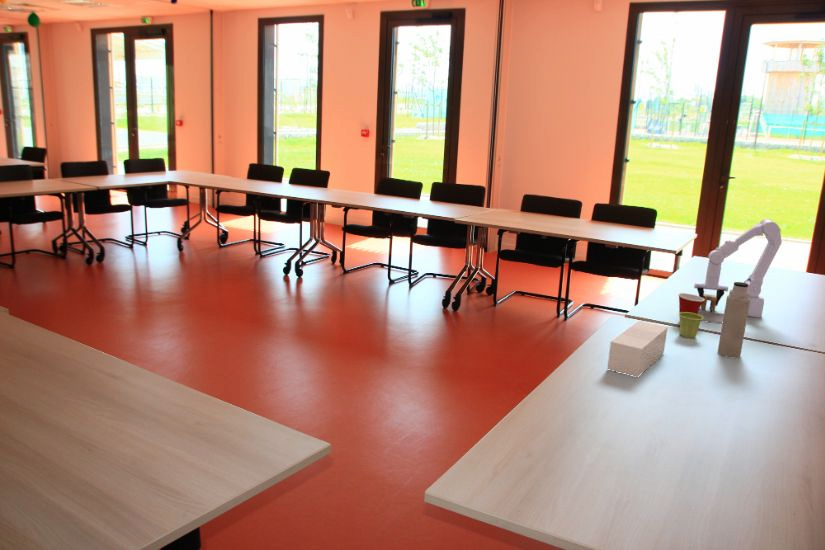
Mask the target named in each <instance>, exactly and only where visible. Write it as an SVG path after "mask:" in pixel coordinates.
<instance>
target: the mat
mask: <svg viewBox="0 0 825 550" xmlns="http://www.w3.org/2000/svg"><path fill="white" fill-rule="evenodd" d="M698 315H701V316H702V317H703V319H702V321H708V322H707V323H711V322H718V323H717V324H720V323H722V322H723V317H724V312H722V313H721V312H713V311H704V310H699V312H698ZM702 321H701V322H702Z"/></svg>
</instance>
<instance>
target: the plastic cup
mask: <svg viewBox="0 0 825 550" xmlns="http://www.w3.org/2000/svg"><path fill="white" fill-rule="evenodd" d="M677 295H678V302H679V304H678V306H679V307H678V308H679V313H681V312H690V313H695V314H698V312H699V311H700V308H701V304H702V302H703V301H704V300H705V299H704V298H702V297H699V295H696V294H692V293H686V292H685V293H684V292H683V293H682V292H679V293H678V294H677ZM679 313H678V314H679Z"/></svg>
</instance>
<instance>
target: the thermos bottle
mask: <svg viewBox="0 0 825 550" xmlns="http://www.w3.org/2000/svg"><path fill="white" fill-rule="evenodd" d="M747 287H748V284H746V283H744V282H742V281H734V282H733V287H732V289H730V290H729V294H728V295H727V296H726V301H725V307H724V311H723V314H724V317H723V323H722V324H721V328H720V329H721V330H720V336H719V340H718V348H717V353H718V354H719V355H720V356H722V355H723V356H722V357H725V356H727V357H726V358H730V357H738V358H740V357H741V354H742V349H743V344H744V336H745V332H746V328H747V327H746V326H747V322H748V321H747V319H748V317H749V316H748V310H749V304H750V299H749V293H748V292H747V289H748V288H747Z"/></svg>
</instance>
